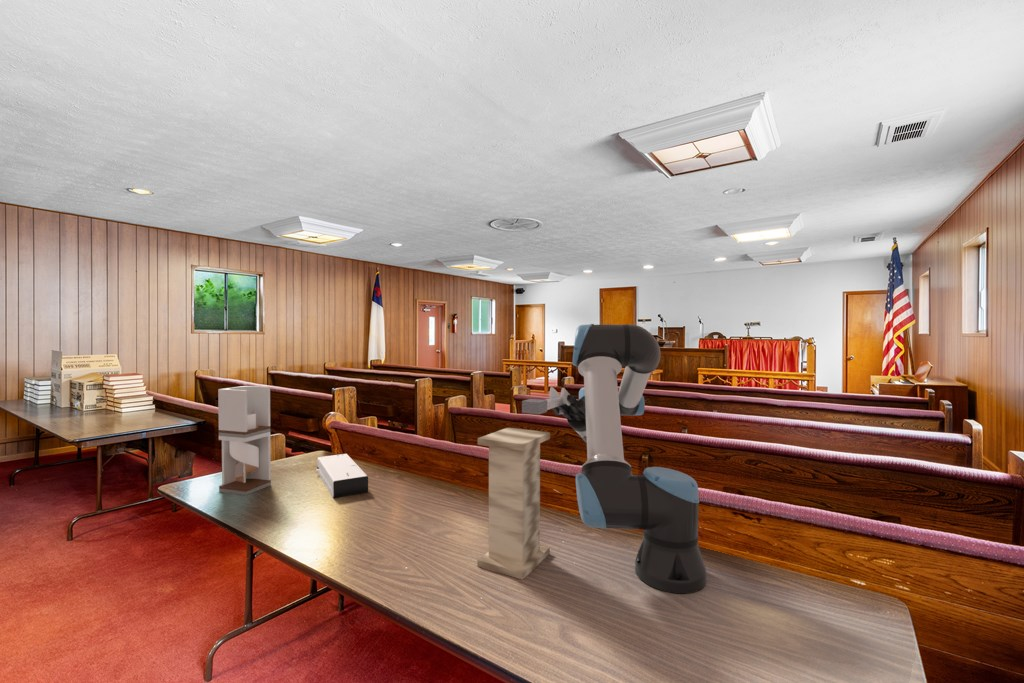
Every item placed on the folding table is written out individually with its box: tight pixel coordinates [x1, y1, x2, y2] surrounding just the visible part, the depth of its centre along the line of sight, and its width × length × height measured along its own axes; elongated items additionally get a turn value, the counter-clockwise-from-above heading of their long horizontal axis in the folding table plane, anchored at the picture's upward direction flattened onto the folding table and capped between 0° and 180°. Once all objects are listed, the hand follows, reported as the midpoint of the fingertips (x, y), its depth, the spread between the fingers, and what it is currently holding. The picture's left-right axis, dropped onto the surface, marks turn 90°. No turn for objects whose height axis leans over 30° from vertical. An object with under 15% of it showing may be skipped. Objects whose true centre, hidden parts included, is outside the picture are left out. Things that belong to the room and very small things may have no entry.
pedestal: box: [477, 427, 551, 580], centre depth 111 cm, size 14×12×30 cm
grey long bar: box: [521, 394, 566, 416], centre depth 128 cm, size 24×5×3 cm, turn 151°
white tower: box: [217, 385, 272, 496], centre depth 162 cm, size 11×11×35 cm
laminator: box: [315, 453, 369, 499], centre depth 169 cm, size 34×12×6 cm, turn 31°
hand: (556, 391), depth 132 cm, fingers closed on grey long bar, 3 cm apart
